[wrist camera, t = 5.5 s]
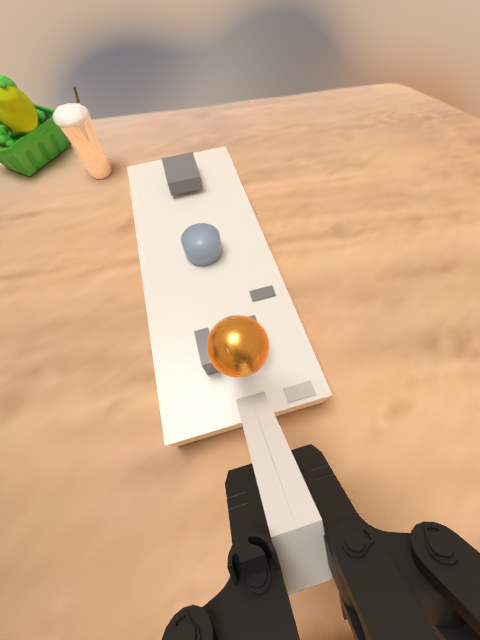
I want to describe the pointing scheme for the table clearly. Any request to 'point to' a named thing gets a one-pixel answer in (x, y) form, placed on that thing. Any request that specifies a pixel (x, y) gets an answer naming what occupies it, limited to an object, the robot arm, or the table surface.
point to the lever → (237, 346)
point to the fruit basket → (26, 131)
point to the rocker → (182, 173)
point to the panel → (214, 303)
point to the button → (201, 243)
